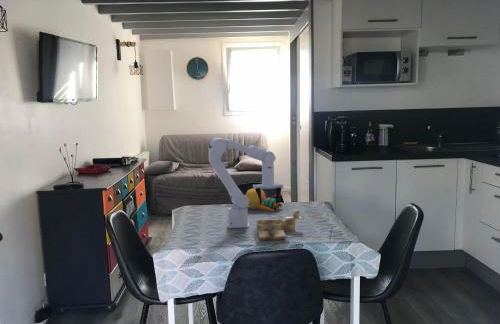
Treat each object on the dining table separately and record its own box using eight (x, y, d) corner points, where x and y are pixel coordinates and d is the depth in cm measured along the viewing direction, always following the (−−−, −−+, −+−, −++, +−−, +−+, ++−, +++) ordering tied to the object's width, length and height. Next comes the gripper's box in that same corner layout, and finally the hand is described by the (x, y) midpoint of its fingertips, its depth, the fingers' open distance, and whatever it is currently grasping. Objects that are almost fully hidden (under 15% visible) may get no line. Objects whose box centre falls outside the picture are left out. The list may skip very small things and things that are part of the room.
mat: (256, 243, 184) (256, 242, 184) (254, 235, 196) (254, 234, 196) (289, 242, 185) (289, 241, 185) (286, 233, 197) (286, 233, 197)
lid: (259, 241, 186) (259, 227, 185) (258, 234, 195) (258, 222, 194) (285, 240, 186) (285, 226, 186) (283, 234, 195) (283, 221, 194)
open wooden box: (257, 234, 198) (257, 223, 197) (256, 228, 207) (256, 218, 206) (295, 232, 198) (295, 222, 198) (293, 226, 207) (293, 216, 207)
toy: (286, 210, 249) (247, 199, 259) (288, 191, 246) (249, 181, 257) (272, 218, 232) (231, 207, 243) (275, 198, 230) (233, 187, 240)
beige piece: (285, 220, 201) (285, 211, 200) (285, 218, 203) (285, 210, 203) (301, 219, 201) (301, 211, 200) (300, 218, 204) (300, 209, 203)
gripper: (253, 177, 209) (254, 205, 211) (284, 176, 209) (284, 204, 211) (252, 175, 216) (253, 202, 218) (282, 174, 216) (282, 201, 218)
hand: (268, 203), depth 215 cm, fingers open, 7 cm apart
